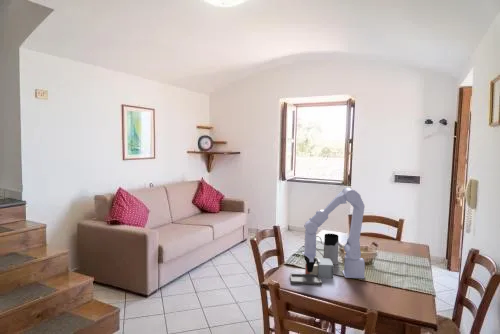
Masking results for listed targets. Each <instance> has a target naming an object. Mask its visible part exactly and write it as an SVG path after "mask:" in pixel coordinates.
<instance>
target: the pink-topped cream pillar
mask: <svg viewBox="0 0 500 334" xmlns="http://www.w3.org/2000/svg"><path fill="white" fill-rule="evenodd" d="M304 274H317V275H318V264H316V263H315V264H314V267H313V271H312V272H308V270H307V264H306V263H305V271H304Z"/></svg>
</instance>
